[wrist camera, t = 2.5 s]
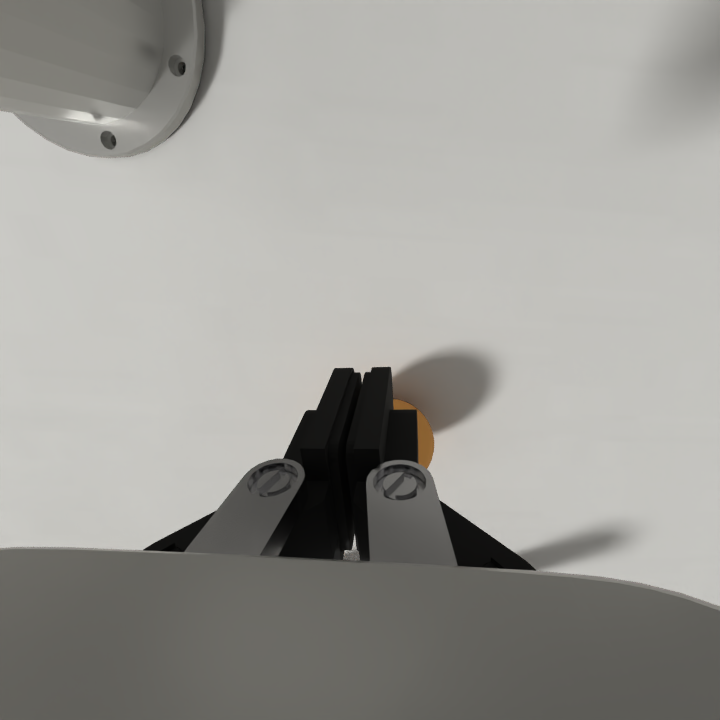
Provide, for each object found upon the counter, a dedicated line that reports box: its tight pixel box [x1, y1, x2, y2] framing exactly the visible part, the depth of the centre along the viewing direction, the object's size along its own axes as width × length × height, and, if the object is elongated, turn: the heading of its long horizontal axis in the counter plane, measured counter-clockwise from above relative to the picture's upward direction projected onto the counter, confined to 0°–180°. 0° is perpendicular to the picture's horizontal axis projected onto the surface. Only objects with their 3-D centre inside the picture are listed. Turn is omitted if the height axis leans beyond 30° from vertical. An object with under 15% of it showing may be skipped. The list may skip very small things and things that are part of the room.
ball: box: [393, 399, 434, 469], centre depth 26 cm, size 6×6×6 cm
